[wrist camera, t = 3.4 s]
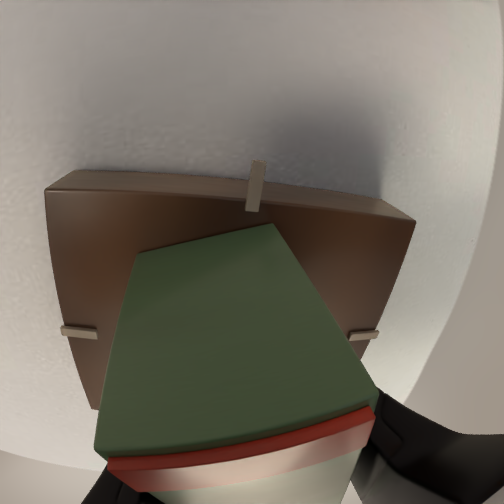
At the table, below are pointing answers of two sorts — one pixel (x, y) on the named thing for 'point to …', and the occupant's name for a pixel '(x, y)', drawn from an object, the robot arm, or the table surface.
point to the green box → (232, 379)
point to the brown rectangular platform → (207, 225)
